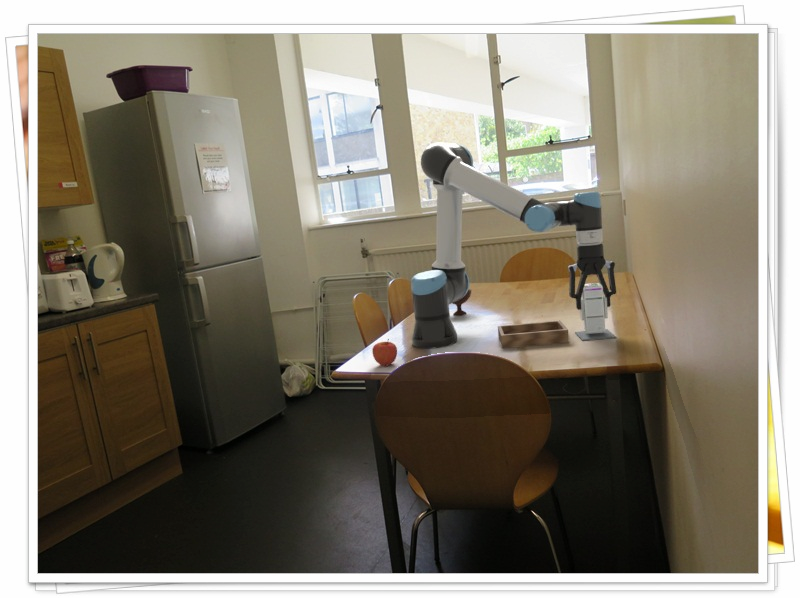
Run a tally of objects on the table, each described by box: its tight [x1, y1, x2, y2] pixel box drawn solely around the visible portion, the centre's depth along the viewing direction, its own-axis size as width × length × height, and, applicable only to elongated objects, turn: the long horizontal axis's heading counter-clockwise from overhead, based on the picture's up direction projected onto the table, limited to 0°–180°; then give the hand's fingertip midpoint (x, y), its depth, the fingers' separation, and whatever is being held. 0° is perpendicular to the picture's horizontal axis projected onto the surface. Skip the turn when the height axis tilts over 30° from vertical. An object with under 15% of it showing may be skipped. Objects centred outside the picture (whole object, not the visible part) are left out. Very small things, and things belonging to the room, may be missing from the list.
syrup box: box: [581, 282, 606, 333], centre depth 175 cm, size 6×6×14 cm
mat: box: [574, 328, 617, 342], centre depth 176 cm, size 10×10×1 cm
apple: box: [371, 338, 398, 367], centre depth 169 cm, size 7×7×8 cm
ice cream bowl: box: [451, 289, 472, 317], centre depth 229 cm, size 11×11×15 cm
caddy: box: [497, 320, 570, 349], centre depth 179 cm, size 20×13×4 cm, turn 85°
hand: (594, 318), depth 175 cm, fingers closed on syrup box, 6 cm apart
